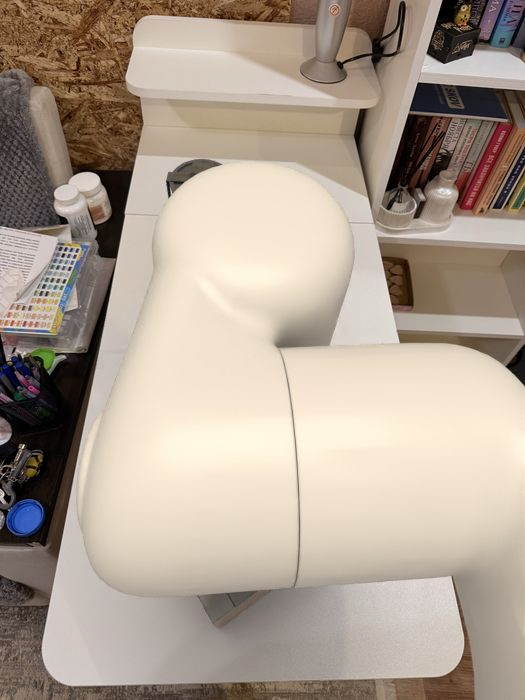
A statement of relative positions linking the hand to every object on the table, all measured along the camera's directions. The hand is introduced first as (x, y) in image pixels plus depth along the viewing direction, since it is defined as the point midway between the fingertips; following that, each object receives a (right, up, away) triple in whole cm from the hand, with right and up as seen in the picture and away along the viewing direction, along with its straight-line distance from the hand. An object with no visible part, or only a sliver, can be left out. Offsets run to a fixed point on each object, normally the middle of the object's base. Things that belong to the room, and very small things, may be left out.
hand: (242, 474), depth 43 cm
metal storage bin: (-2, -16, +29) cm, 33 cm away
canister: (-9, +30, +55) cm, 63 cm away
